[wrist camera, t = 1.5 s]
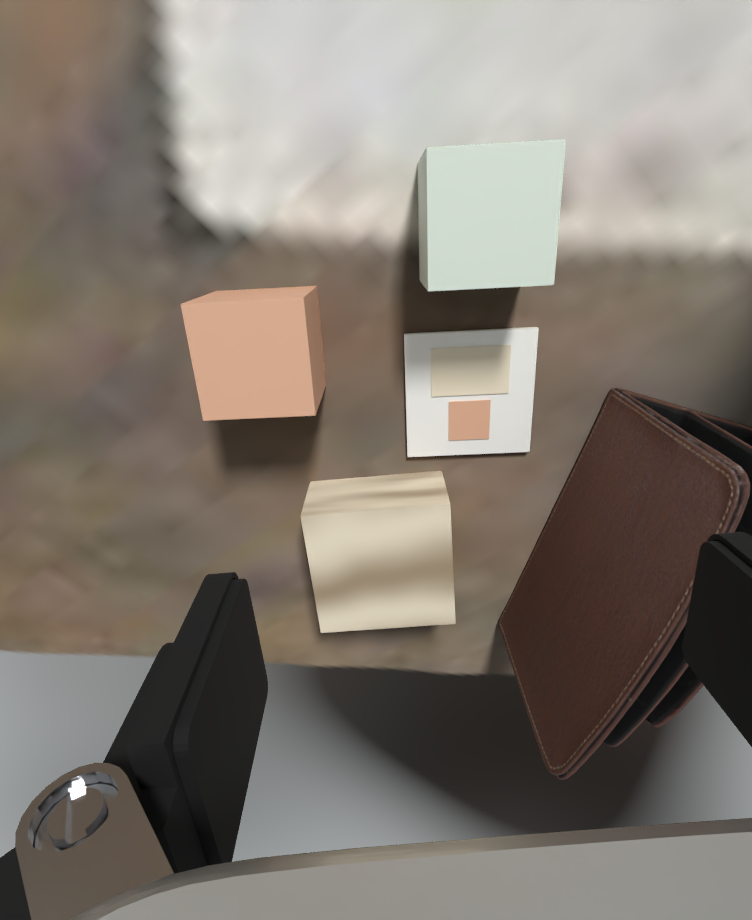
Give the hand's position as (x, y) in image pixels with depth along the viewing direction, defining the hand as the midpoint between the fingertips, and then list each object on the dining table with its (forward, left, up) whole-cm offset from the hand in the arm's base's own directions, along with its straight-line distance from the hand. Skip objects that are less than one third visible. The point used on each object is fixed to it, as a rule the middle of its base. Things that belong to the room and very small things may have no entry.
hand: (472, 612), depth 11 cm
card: (+2, +4, -24) cm, 24 cm away
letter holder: (+13, +14, -24) cm, 31 cm away
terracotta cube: (-2, -8, -24) cm, 25 cm away
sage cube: (-8, +4, -24) cm, 25 cm away
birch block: (+12, -2, -24) cm, 27 cm away
